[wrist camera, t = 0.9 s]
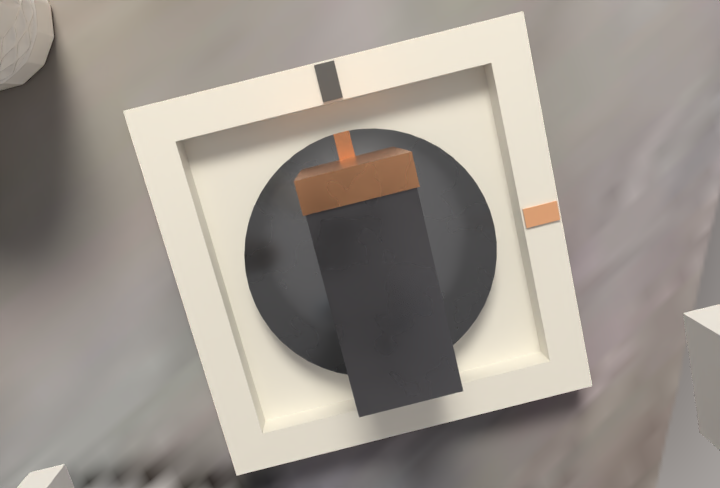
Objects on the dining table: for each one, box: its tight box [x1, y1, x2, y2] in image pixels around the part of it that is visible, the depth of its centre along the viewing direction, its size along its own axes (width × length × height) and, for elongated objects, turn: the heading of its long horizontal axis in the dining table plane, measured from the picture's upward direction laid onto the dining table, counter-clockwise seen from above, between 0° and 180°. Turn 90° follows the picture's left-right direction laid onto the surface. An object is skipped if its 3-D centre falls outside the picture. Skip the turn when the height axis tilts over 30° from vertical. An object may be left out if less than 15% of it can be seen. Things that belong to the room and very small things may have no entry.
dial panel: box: [123, 11, 592, 475], centre depth 33 cm, size 20×20×3 cm
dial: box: [244, 128, 497, 417], centre depth 29 cm, size 13×13×9 cm
